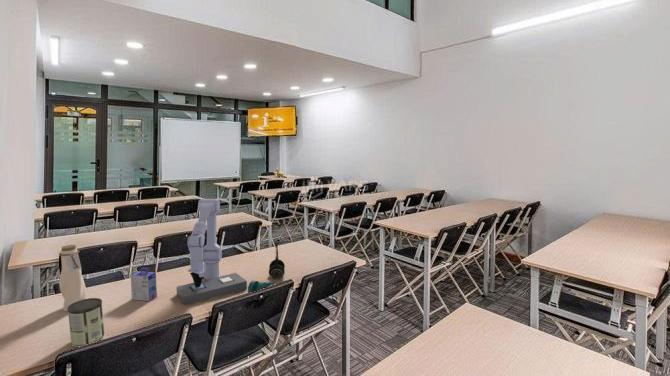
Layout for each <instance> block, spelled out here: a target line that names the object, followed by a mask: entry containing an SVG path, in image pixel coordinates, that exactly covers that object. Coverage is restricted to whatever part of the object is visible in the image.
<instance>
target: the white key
mask: <svg viewBox="0 0 670 376" xmlns="http://www.w3.org/2000/svg"><path fill="white" fill-rule="evenodd" d="M229 282H233V280H232V279H231V278H230V277H226V278H222V279H220V283H221V284H225V283H229Z"/></svg>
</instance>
